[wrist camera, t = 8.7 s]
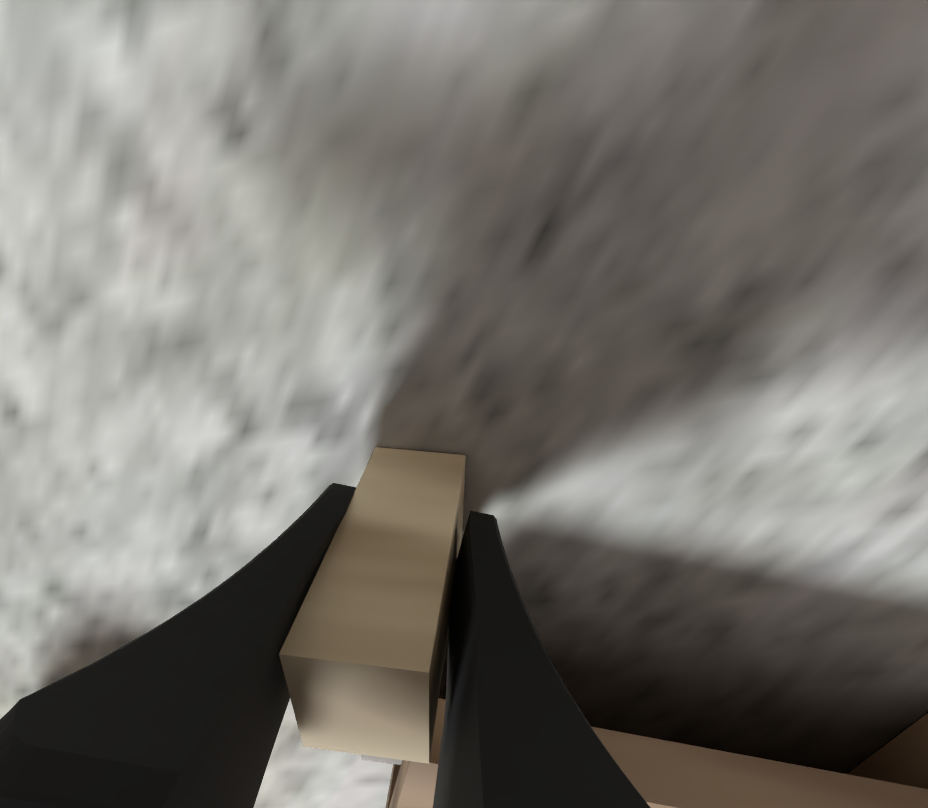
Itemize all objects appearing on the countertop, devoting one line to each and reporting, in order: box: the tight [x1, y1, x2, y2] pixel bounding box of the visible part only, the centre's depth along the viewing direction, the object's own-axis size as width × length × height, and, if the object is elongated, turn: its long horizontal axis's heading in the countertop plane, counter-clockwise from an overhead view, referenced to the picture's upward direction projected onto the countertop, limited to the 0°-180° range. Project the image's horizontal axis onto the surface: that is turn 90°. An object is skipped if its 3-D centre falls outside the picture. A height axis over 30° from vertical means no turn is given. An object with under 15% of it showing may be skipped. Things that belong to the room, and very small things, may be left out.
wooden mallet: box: [279, 447, 466, 765], centre depth 13 cm, size 13×3×6 cm, turn 178°
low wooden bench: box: [386, 698, 928, 808], centre depth 16 cm, size 10×20×5 cm, turn 78°
